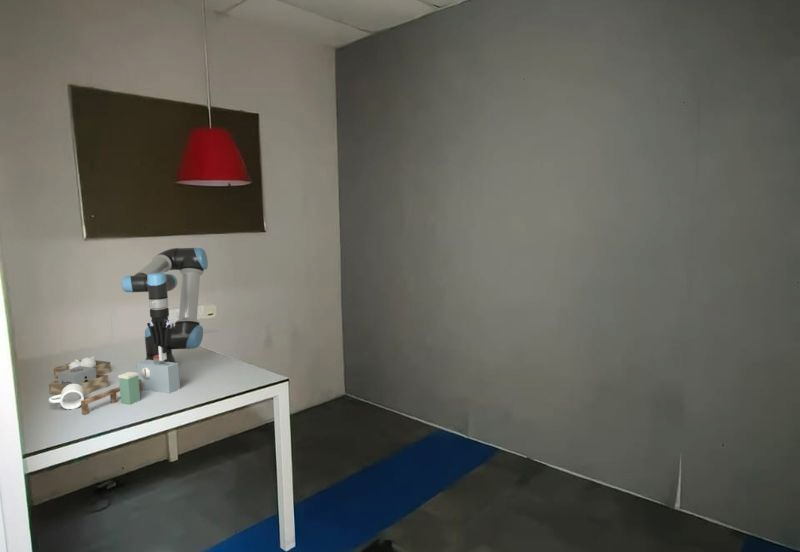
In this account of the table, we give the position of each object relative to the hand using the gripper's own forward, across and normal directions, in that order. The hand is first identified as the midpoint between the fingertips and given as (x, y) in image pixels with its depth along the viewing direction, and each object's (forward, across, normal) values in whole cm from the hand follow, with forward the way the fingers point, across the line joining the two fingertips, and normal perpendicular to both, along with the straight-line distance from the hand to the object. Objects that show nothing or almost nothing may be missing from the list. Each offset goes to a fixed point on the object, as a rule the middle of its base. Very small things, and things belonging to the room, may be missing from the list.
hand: (163, 359), depth 216 cm
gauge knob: (+2, -2, 0) cm, 3 cm away
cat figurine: (+14, -59, +6) cm, 61 cm away
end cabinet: (+14, -3, 0) cm, 14 cm away
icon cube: (+14, -35, -14) cm, 41 cm away
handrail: (+14, -9, -19) cm, 25 cm away
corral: (+14, -46, -4) cm, 48 cm away
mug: (+14, -23, -28) cm, 39 cm away
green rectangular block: (+14, -2, -16) cm, 21 cm away
